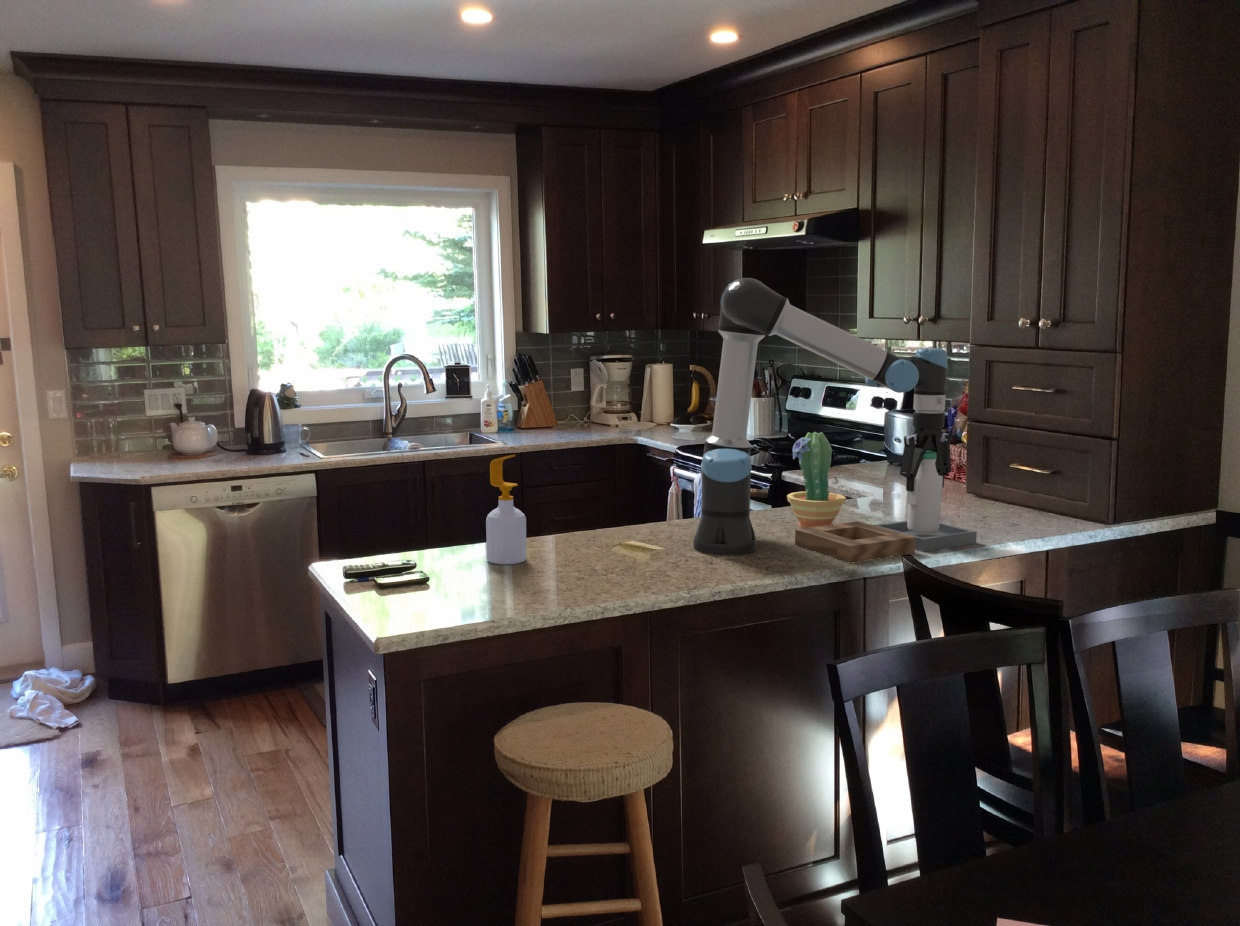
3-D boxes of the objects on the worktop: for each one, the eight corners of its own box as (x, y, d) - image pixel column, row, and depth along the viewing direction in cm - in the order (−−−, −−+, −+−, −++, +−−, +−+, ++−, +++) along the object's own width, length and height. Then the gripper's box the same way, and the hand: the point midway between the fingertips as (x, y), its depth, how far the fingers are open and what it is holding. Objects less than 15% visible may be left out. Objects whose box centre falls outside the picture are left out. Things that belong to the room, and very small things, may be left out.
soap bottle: (510, 567, 236) (508, 458, 232) (478, 561, 241) (476, 455, 237) (534, 558, 244) (533, 453, 240) (503, 553, 248) (501, 450, 245)
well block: (849, 563, 241) (850, 546, 240) (795, 545, 258) (795, 529, 257) (914, 553, 250) (915, 536, 250) (857, 536, 268) (858, 521, 267)
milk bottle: (940, 534, 259) (944, 454, 256) (908, 533, 261) (912, 453, 258) (937, 528, 267) (941, 450, 264) (906, 526, 268) (909, 448, 265)
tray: (922, 551, 252) (923, 539, 252) (870, 536, 268) (871, 525, 267) (976, 543, 261) (976, 531, 260) (922, 529, 276) (923, 518, 276)
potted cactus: (786, 518, 289) (789, 428, 286) (844, 521, 287) (847, 429, 283) (785, 530, 274) (787, 435, 271) (845, 533, 272) (849, 437, 268)
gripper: (909, 414, 251) (904, 508, 255) (970, 411, 261) (965, 501, 264) (886, 411, 258) (882, 503, 261) (947, 408, 267) (942, 496, 271)
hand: (924, 502), depth 263 cm, fingers closed on milk bottle, 8 cm apart
